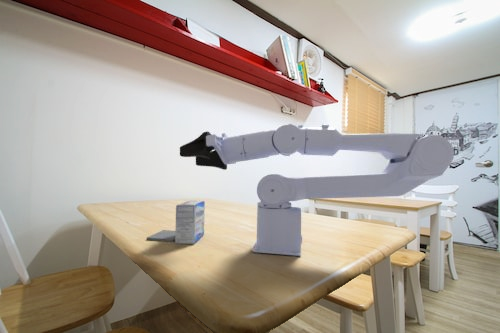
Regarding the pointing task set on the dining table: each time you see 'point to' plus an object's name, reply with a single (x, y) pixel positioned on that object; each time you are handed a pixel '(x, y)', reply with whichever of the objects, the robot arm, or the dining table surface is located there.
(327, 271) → the dining table surface
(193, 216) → the medicine box
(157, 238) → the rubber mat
